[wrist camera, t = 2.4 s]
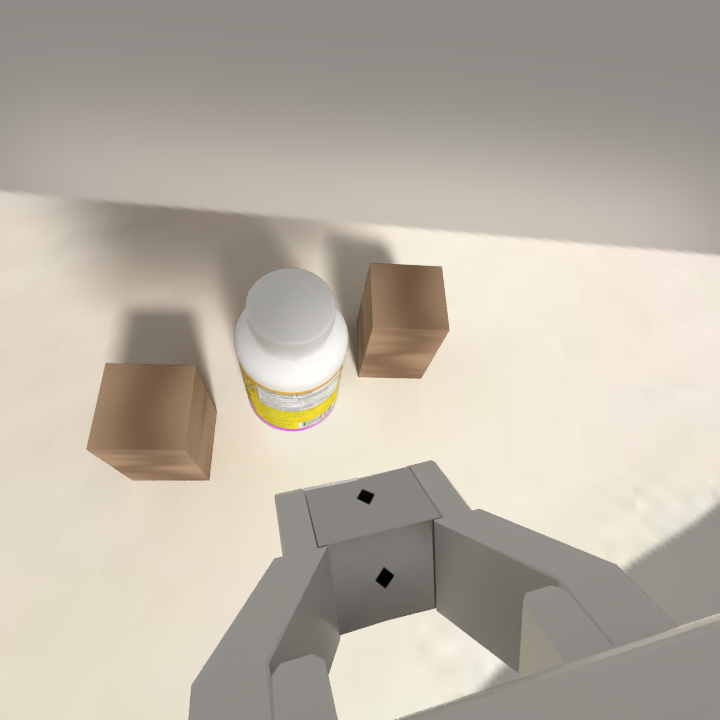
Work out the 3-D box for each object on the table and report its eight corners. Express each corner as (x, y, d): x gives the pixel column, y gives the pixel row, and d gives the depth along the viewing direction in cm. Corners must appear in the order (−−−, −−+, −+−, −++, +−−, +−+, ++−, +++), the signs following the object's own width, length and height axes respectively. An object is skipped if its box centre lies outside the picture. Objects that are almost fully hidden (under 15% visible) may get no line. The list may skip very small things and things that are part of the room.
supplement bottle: (263, 345, 38) (248, 238, 26) (345, 364, 38) (366, 266, 26) (236, 424, 35) (207, 344, 23) (325, 445, 35) (340, 374, 23)
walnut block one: (132, 480, 32) (86, 449, 25) (145, 408, 35) (106, 361, 27) (209, 480, 33) (184, 450, 26) (217, 409, 35) (196, 363, 28)
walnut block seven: (358, 377, 38) (372, 327, 30) (356, 320, 40) (370, 261, 33) (420, 378, 38) (449, 330, 31) (416, 322, 40) (441, 264, 33)
